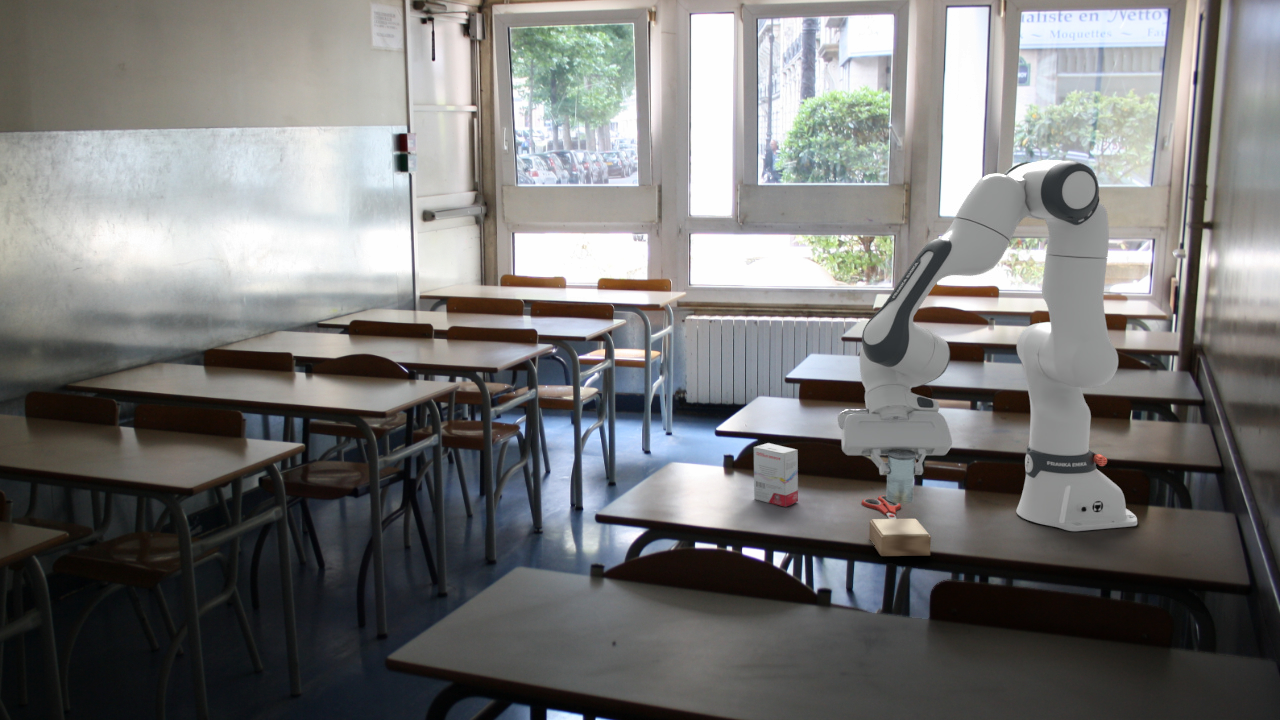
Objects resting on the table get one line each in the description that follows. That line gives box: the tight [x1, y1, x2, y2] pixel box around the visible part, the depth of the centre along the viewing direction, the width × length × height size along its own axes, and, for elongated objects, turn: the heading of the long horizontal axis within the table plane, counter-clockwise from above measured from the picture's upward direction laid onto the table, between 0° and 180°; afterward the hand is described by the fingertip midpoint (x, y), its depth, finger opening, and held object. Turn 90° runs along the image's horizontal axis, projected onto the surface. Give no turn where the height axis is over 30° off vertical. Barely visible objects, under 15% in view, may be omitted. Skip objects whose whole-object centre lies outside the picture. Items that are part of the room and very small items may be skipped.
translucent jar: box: [885, 449, 916, 504], centre depth 185 cm, size 5×5×9 cm
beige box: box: [868, 518, 932, 557], centre depth 187 cm, size 9×9×4 cm
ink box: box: [753, 442, 799, 508], centre depth 214 cm, size 9×5×12 cm, turn 44°
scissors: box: [861, 494, 902, 519], centre depth 205 cm, size 8×21×2 cm, turn 9°
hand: (901, 473), depth 185 cm, fingers closed on translucent jar, 5 cm apart
